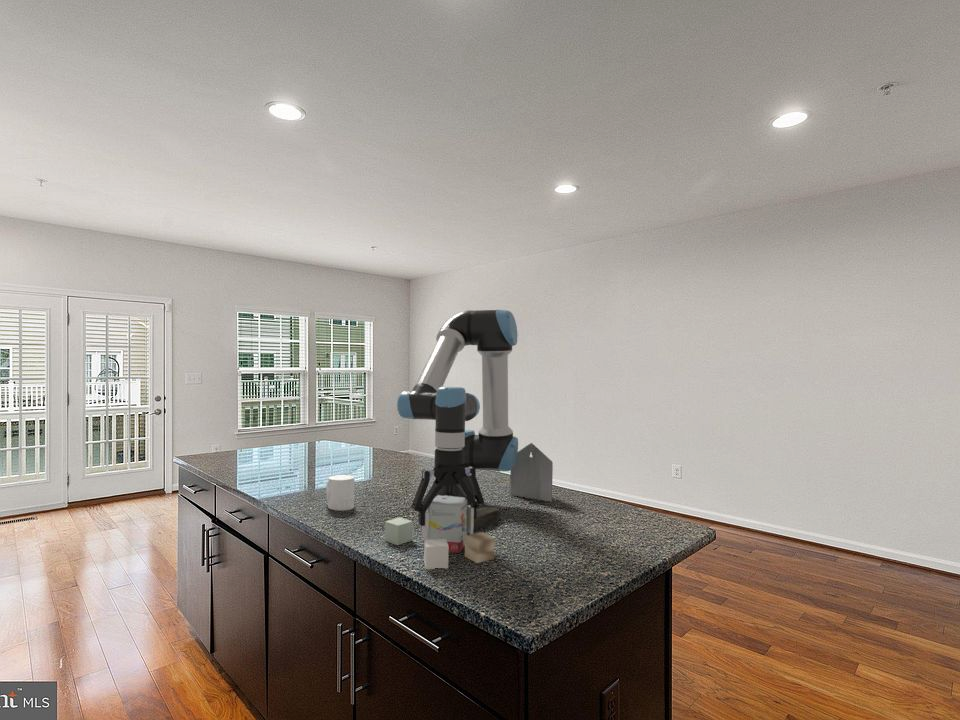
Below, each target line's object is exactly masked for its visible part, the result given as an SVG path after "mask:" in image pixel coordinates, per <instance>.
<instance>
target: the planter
mask: <svg viewBox="0 0 960 720" xmlns="http://www.w3.org/2000/svg"><path fill="white" fill-rule="evenodd" d="M553 466H554V465H553V461H552V460H551V459H550V458H549V457H548V456H547V455H546V454H545V453H544V452H543V451H541V450H540V449H539V448H538V447H537V446H536V445H535V444H533V442H531V443H529V444H527V445H526V446H524V447H523V448H521V449H520V450H518V452H517V457H516V461H515V464H514V467H513V468H512V470H510V471H509V472H510V474H509V475H510V477H509V478H510V479H509V481H510V482H509V483H510V485H509V495H510V496H511V495H513V497H517V496H520V497H519V498H523V497H526V499H529V498H531V500H535V499H537V500H536V501H541V500H544V501H543V502H547V501H550V502H549V503H552V502H553V473H554V472H553V471H554V470H553V468H554V467H553Z"/></svg>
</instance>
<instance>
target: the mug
mask: <svg viewBox="0 0 960 720" xmlns="http://www.w3.org/2000/svg"><path fill="white" fill-rule="evenodd" d="M325 489H326V496H327V497H326V504H327V509H330V510H332V511H350V510H353V509H354V508H355V498H354V497H355V493H356V492H355V491H356V490H355V476H354V475H350V474H339V475H337V474H336V475H331V476H329V477H328V480H327V483H326V486H325Z"/></svg>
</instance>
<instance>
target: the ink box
mask: <svg viewBox="0 0 960 720" xmlns="http://www.w3.org/2000/svg"><path fill="white" fill-rule="evenodd" d="M468 506H469V503H468V499H467V498H464V497H454V496H442V495H438V496H436V497H435V498H434V499H433V501H432V503H431V504H430V506H429V507H428V509H427V512H428V513H429V533H428V540H429V539H446V540H447V543H448V546H449V552H448V553H453V554H461V552H462V550H463V549H464V548H465V536H466V535H468V532H467V520H468Z"/></svg>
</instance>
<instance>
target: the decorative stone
mask: <svg viewBox="0 0 960 720" xmlns="http://www.w3.org/2000/svg"><path fill="white" fill-rule="evenodd" d="M501 517H502V511H501V510H500V509H499V508H497V507H493V506H492V507H481V508H477V518H476V519H474V526H473V531H476V530H482V529H485V528H488V527H489V526H491V525H493V524H494V523H496V522H498V521H499V520H501Z"/></svg>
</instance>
